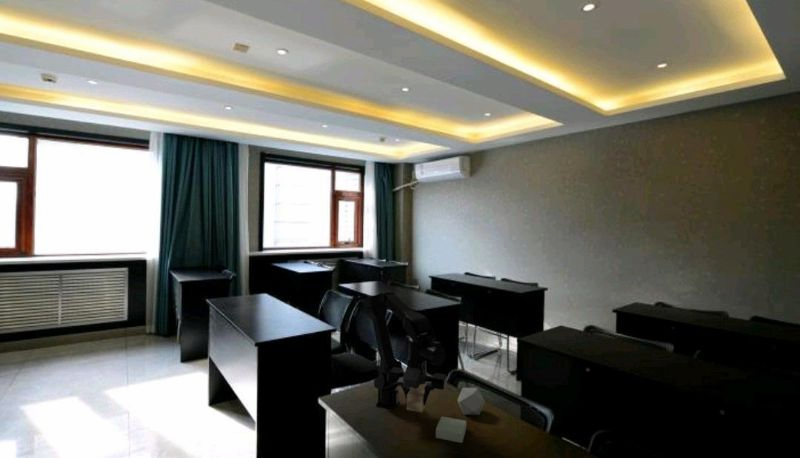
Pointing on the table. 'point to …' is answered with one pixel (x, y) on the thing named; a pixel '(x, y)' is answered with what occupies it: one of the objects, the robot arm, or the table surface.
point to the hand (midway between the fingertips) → (416, 404)
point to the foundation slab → (451, 429)
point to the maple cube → (415, 400)
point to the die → (471, 401)
